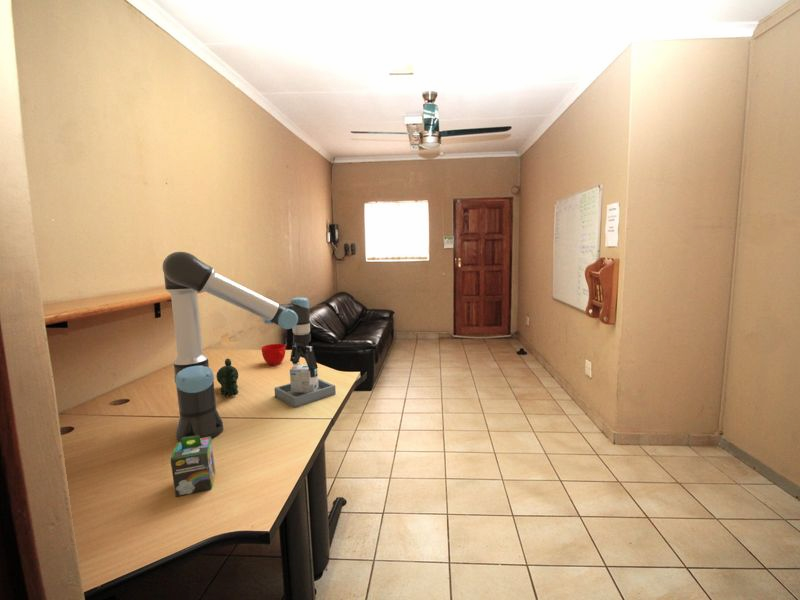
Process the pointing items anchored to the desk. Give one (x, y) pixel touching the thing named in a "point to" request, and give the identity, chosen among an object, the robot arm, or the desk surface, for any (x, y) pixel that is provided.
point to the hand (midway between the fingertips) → (304, 380)
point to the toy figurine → (228, 379)
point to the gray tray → (304, 394)
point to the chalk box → (193, 465)
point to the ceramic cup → (273, 353)
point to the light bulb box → (302, 379)
